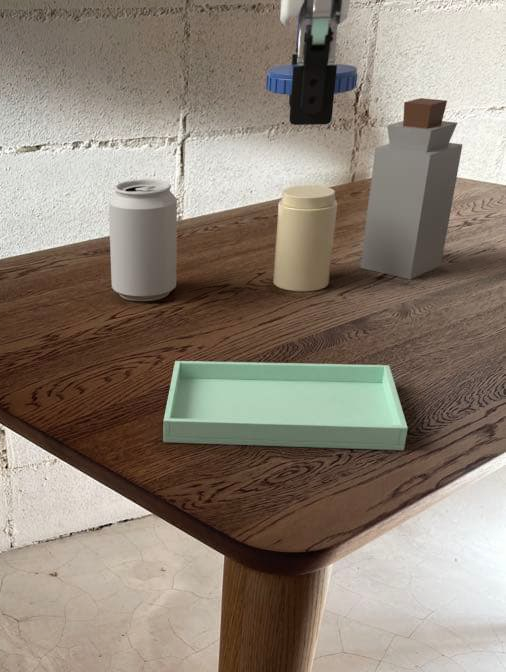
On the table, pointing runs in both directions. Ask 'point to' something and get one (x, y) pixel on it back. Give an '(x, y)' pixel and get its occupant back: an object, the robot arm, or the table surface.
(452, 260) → the table surface
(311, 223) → the jam jar
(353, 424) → the tray
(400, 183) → the perfume bottle
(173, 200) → the can
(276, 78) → the jar lid
